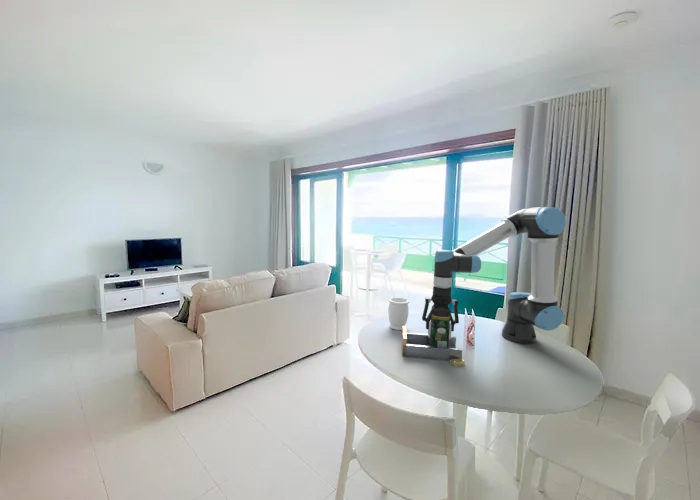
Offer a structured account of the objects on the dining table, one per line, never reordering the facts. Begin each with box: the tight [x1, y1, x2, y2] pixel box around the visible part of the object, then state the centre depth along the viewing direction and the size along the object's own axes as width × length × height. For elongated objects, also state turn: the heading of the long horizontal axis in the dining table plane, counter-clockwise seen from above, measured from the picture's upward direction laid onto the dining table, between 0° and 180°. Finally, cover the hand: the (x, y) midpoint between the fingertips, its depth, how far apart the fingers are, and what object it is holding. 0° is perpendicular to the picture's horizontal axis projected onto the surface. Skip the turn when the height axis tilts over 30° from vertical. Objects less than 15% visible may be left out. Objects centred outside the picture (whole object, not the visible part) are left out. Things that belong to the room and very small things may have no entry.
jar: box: [387, 297, 410, 331], centre depth 163 cm, size 11×10×15 cm
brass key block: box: [449, 358, 466, 367], centre depth 124 cm, size 5×2×2 cm, turn 109°
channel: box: [401, 325, 463, 362], centre depth 135 cm, size 24×15×8 cm, turn 81°
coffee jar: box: [430, 305, 451, 348], centre depth 134 cm, size 10×8×19 cm
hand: (439, 337), depth 134 cm, fingers closed on coffee jar, 8 cm apart
